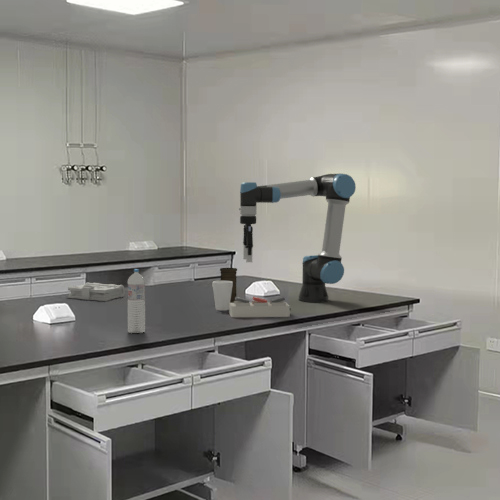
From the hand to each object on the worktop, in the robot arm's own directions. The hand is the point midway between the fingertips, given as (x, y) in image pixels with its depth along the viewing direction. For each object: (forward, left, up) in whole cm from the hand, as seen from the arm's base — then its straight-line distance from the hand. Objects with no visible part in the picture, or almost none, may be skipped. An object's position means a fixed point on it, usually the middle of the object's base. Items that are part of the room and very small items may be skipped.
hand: (247, 260), depth 357 cm
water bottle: (+51, +52, -23) cm, 76 cm away
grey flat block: (+75, -43, -24) cm, 89 cm away
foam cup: (+12, -1, -23) cm, 26 cm away
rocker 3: (-11, +18, -16) cm, 27 cm away
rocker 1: (+5, +18, -16) cm, 25 cm away
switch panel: (-3, +16, -23) cm, 28 cm away
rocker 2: (-3, +18, -16) cm, 24 cm away
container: (+8, -13, -23) cm, 27 cm away
